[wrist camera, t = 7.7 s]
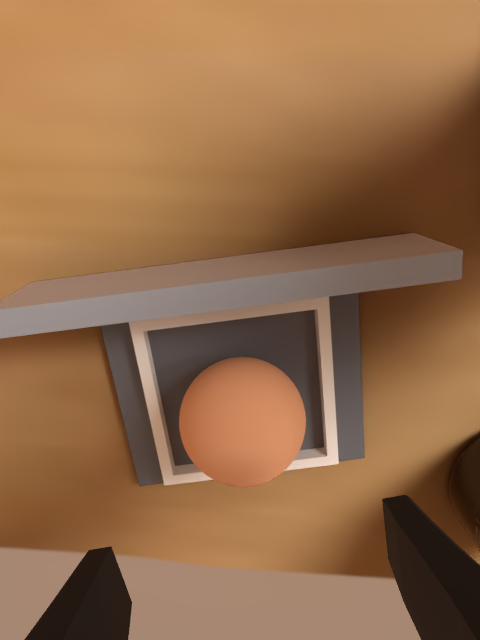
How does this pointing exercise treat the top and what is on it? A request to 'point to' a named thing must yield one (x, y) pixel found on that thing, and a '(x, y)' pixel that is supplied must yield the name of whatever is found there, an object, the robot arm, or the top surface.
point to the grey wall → (228, 283)
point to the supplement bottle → (467, 490)
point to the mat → (239, 341)
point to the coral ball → (242, 421)
